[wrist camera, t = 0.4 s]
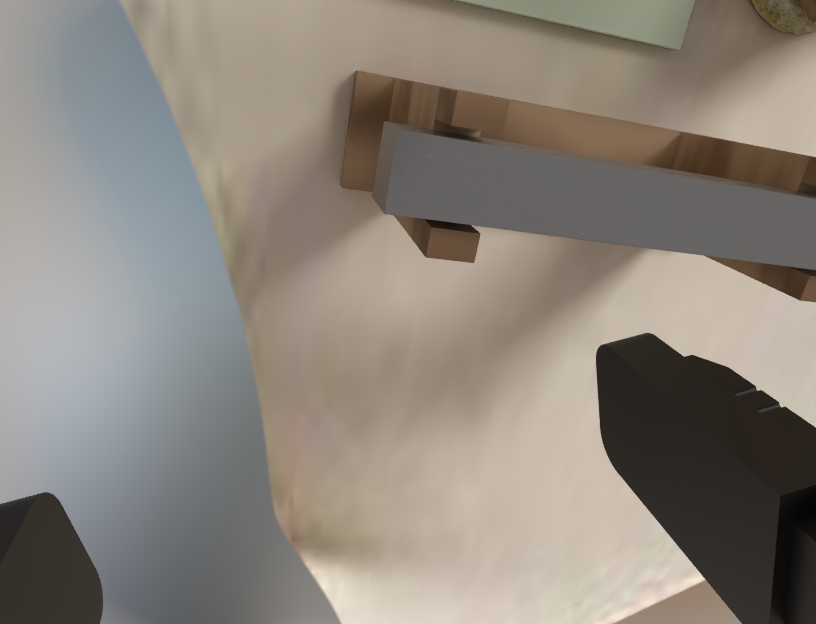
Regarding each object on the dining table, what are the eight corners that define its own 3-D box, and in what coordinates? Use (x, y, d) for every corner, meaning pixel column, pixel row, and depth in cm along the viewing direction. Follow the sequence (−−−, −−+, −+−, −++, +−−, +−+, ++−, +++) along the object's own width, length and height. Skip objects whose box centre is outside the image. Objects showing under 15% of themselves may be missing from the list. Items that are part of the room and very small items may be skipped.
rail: (372, 196, 25) (384, 213, 23) (384, 121, 24) (398, 129, 22) (838, 260, 31) (892, 280, 29) (863, 201, 30) (921, 216, 28)
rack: (355, 70, 34) (403, 80, 22) (726, 140, 40) (928, 178, 27) (340, 184, 36) (375, 251, 24) (693, 233, 42) (867, 308, 30)
